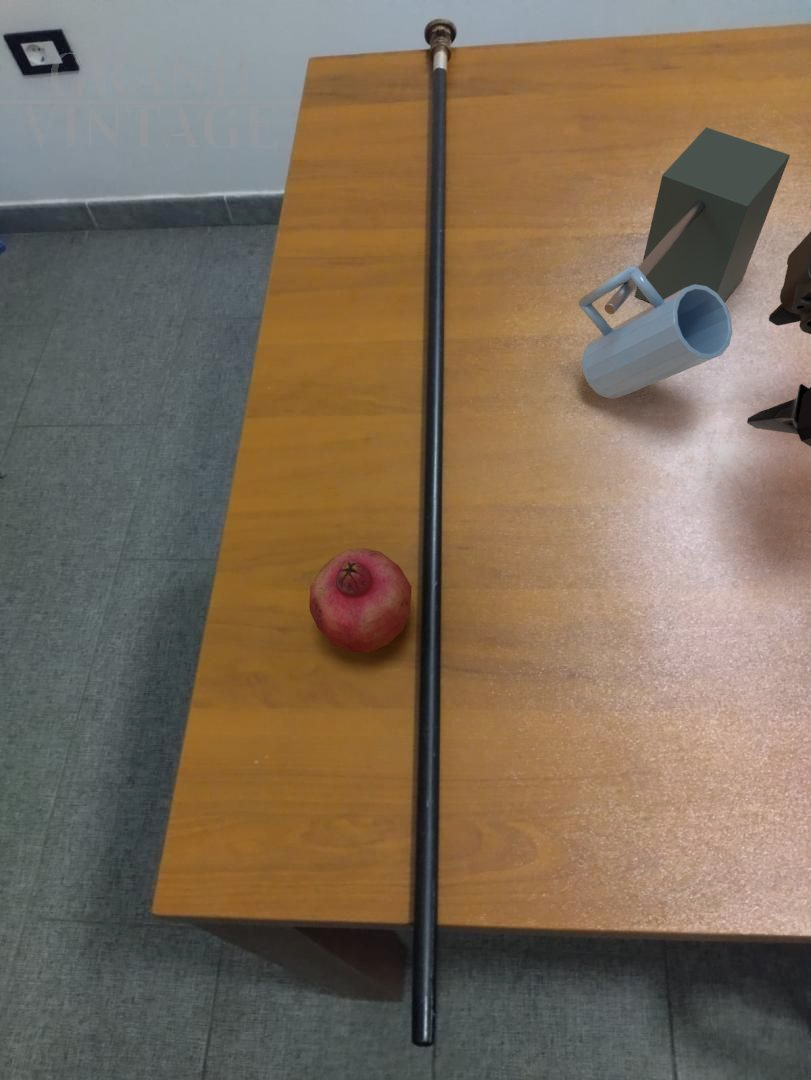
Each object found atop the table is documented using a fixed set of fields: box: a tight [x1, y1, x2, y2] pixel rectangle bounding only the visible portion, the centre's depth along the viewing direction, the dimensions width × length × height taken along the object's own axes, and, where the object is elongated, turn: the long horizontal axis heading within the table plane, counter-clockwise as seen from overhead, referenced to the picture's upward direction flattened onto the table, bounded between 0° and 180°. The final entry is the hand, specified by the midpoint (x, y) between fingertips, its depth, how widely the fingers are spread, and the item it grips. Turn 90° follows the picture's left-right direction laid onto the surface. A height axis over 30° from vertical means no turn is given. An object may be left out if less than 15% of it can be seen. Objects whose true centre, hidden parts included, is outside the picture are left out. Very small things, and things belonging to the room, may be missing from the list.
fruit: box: [308, 547, 413, 653], centre depth 59 cm, size 8×8×10 cm
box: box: [604, 127, 791, 315], centre depth 69 cm, size 8×23×14 cm, turn 142°
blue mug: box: [578, 264, 733, 400], centre depth 64 cm, size 10×6×12 cm
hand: (762, 371), depth 58 cm, fingers open, 9 cm apart
